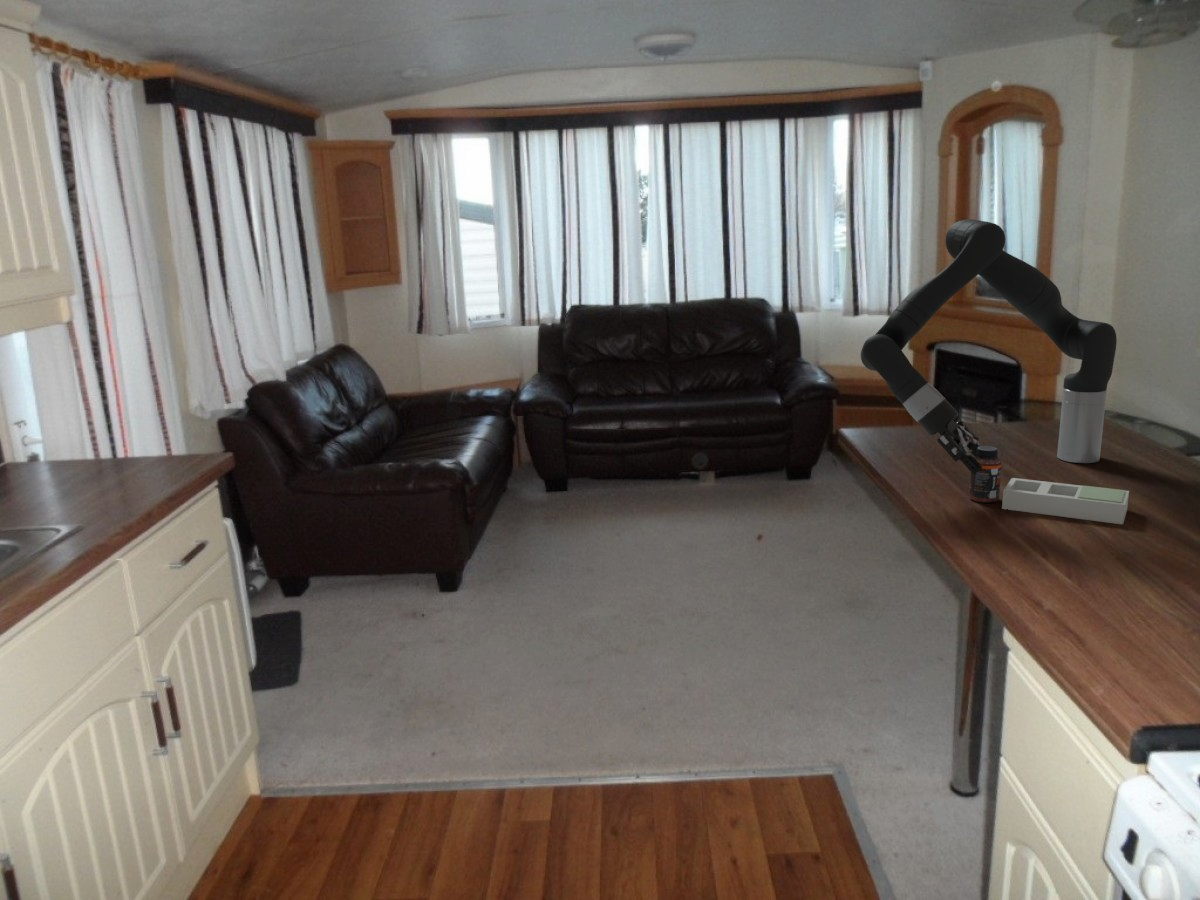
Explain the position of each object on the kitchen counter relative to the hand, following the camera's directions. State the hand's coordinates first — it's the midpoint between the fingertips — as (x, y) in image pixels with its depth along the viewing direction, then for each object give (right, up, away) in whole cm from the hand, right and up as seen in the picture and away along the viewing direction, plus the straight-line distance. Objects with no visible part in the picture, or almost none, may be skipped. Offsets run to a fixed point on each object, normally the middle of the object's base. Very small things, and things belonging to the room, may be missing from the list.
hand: (982, 466), depth 199 cm
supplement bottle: (+1, -7, +1) cm, 7 cm away
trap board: (+14, -9, -7) cm, 18 cm away
